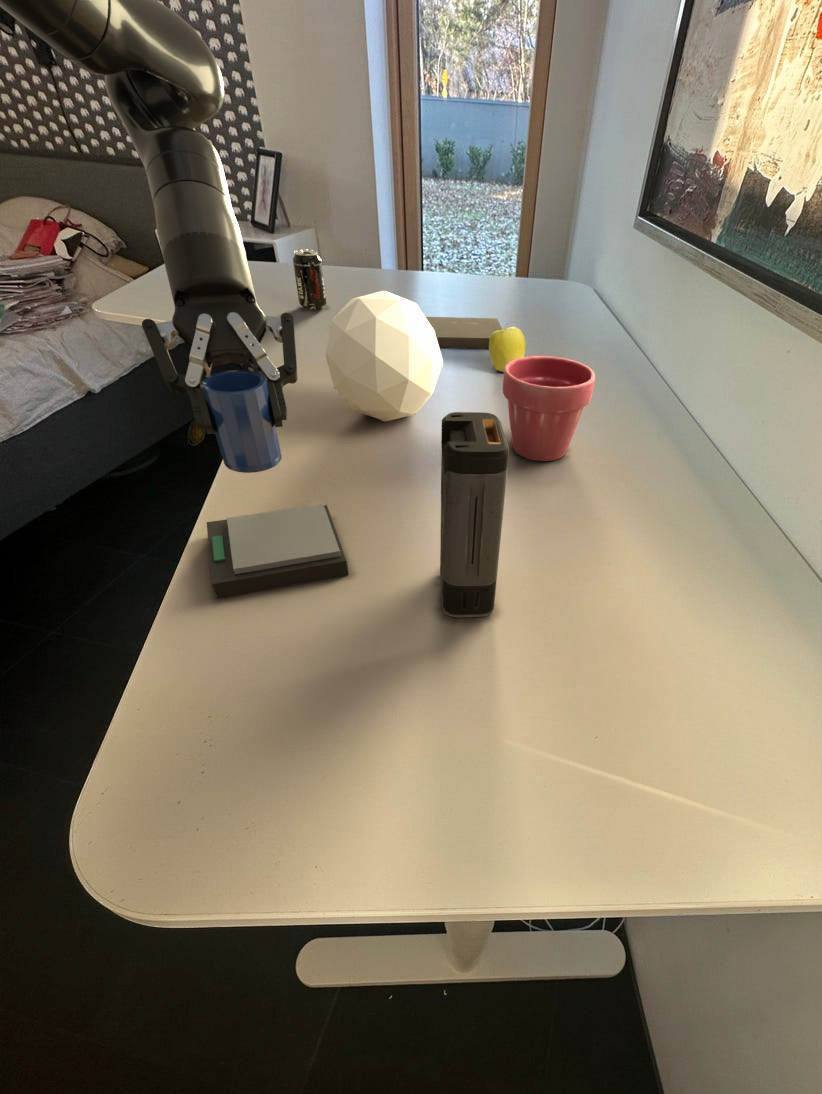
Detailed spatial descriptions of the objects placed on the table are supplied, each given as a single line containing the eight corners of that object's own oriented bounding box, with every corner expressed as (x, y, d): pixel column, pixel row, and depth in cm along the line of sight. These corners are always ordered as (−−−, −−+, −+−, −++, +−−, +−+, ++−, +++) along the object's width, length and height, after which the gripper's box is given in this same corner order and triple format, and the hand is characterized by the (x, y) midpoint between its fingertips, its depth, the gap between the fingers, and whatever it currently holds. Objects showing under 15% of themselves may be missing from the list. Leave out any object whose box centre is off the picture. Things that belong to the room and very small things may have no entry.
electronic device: (439, 569, 70) (440, 410, 56) (486, 568, 71) (499, 410, 57) (443, 620, 64) (445, 453, 50) (495, 618, 65) (512, 454, 51)
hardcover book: (404, 326, 139) (404, 316, 137) (496, 328, 142) (497, 318, 140) (406, 348, 128) (406, 337, 126) (506, 350, 131) (507, 339, 129)
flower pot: (512, 424, 102) (520, 348, 93) (588, 440, 99) (603, 363, 90) (486, 458, 92) (491, 377, 83) (569, 476, 89) (584, 394, 80)
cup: (225, 476, 57) (202, 396, 51) (222, 450, 61) (200, 372, 55) (285, 468, 59) (269, 390, 53) (278, 443, 62) (262, 368, 57)
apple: (535, 368, 120) (527, 319, 112) (501, 383, 119) (491, 335, 112) (520, 356, 125) (511, 308, 118) (487, 370, 125) (477, 323, 117)
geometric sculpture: (362, 446, 107) (299, 342, 100) (450, 394, 109) (395, 289, 102) (372, 438, 90) (297, 311, 83) (477, 376, 92) (413, 246, 85)
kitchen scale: (217, 599, 64) (209, 578, 62) (211, 536, 73) (204, 516, 71) (348, 575, 69) (345, 555, 67) (328, 518, 77) (325, 499, 75)
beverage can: (305, 312, 143) (297, 255, 134) (295, 305, 147) (287, 249, 138) (331, 309, 146) (324, 254, 137) (320, 302, 150) (314, 248, 141)
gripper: (109, 228, 49) (155, 420, 50) (280, 227, 53) (320, 404, 54) (134, 282, 56) (174, 449, 57) (283, 278, 61) (318, 433, 61)
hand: (245, 426), depth 56 cm, fingers closed on cup, 6 cm apart
